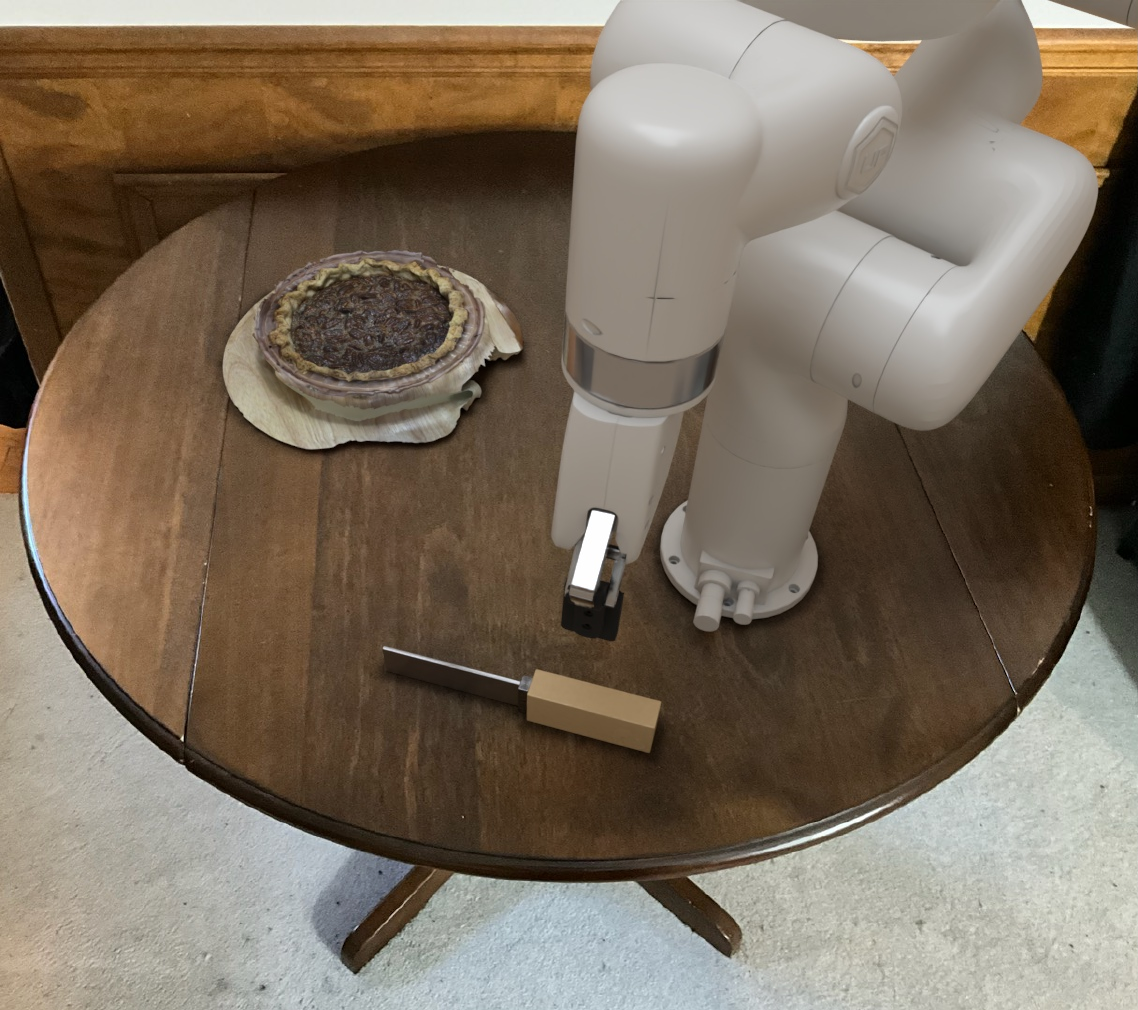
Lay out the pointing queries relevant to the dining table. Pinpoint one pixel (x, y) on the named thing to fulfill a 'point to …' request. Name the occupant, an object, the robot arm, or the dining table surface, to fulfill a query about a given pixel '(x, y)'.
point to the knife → (545, 699)
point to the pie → (366, 350)
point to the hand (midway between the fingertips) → (610, 567)
